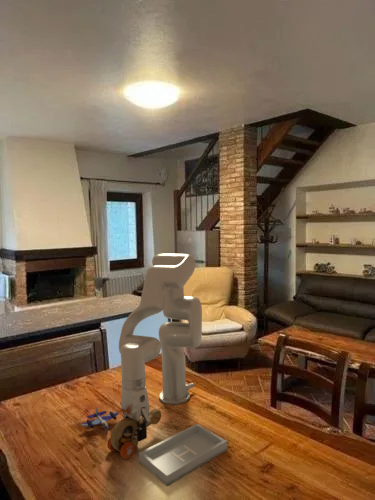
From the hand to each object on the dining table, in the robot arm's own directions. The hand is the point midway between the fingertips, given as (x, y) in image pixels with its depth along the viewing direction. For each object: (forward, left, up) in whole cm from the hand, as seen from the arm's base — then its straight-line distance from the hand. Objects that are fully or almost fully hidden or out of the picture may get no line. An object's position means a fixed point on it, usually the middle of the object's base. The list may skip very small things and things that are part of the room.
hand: (135, 434), depth 123 cm
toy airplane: (+3, -17, -4) cm, 18 cm away
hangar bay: (-8, +15, -4) cm, 17 cm away
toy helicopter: (0, 0, -4) cm, 4 cm away
